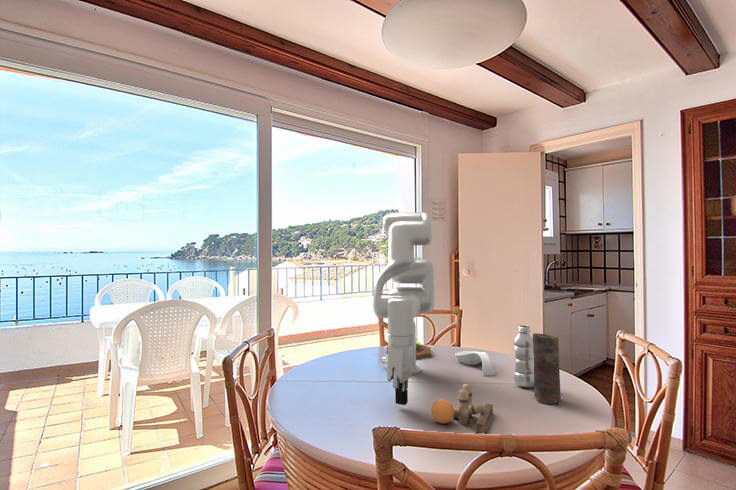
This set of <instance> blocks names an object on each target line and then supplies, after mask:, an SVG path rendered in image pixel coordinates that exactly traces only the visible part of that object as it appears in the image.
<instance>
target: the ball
mask: <svg viewBox="0 0 736 490" xmlns="http://www.w3.org/2000/svg"><path fill="white" fill-rule="evenodd" d="M454 408H455V407H454V405H453V404H452V403H451V402H450V401H449V400H447V399H442V398H440V399H437V400H436V401H434V402H433V403H432V406H431V408H430V409H431V416H432V417H433V419H434V420H435V422H437V423H440V424H442V425H443V424H448V423H450V422H451V421H452V420H453V419H454V418H453V417H454Z"/></svg>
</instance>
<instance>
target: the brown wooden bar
mask: <svg viewBox="0 0 736 490" xmlns="http://www.w3.org/2000/svg"><path fill="white" fill-rule="evenodd" d="M483 407H484V413H479V414H480V415H479V416H478V419H477V420H476V422H475V424H476V425H475V426H476V427H475V428H476V429H475V431H476V432H475V433H476V434H477V433H484V434H486V432H487V430H488V427H489V425H490V422H491V420H492V417H493V414H494V408H493V407H494V405H493V404H491V403H485V404H483Z"/></svg>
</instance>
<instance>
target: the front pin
mask: <svg viewBox="0 0 736 490" xmlns="http://www.w3.org/2000/svg"><path fill="white" fill-rule="evenodd" d="M453 408H454V417H453V419H455V418H456V419H457V418H459V407H453ZM481 413H484V404H483V403H482V402H479V403H475V404H473V403H472V405H469V415H472V416H473V415H474V416H475V415H479V414H481Z"/></svg>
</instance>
